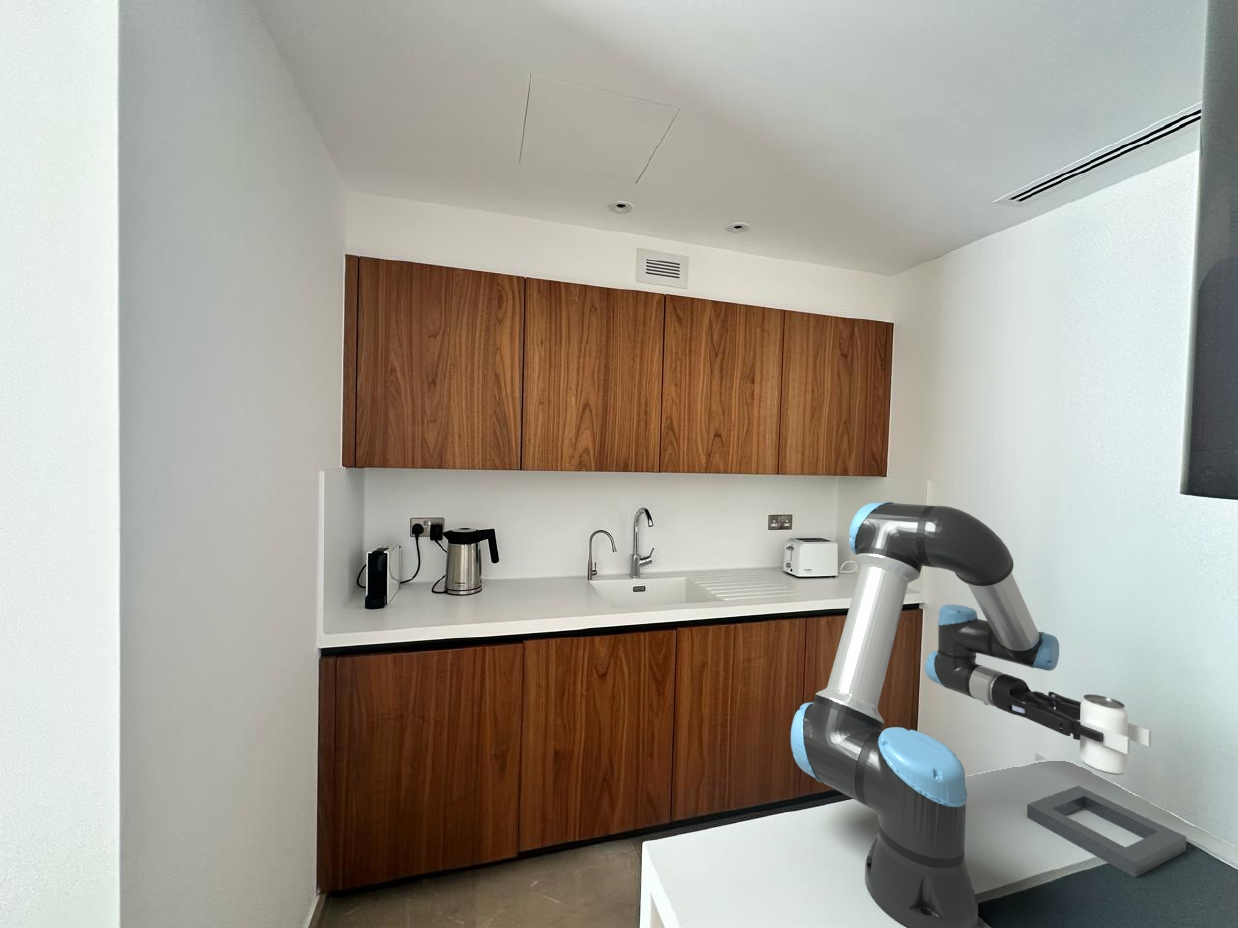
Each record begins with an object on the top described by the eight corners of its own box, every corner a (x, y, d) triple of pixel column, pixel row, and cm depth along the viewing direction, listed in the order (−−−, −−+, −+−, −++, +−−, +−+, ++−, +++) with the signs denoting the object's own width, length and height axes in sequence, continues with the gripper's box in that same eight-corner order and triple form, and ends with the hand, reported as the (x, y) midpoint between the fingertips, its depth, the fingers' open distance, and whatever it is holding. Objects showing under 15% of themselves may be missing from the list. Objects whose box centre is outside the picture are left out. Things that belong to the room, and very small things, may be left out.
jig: (1135, 877, 86) (1135, 862, 86) (1027, 817, 101) (1027, 804, 101) (1185, 850, 93) (1186, 836, 93) (1077, 797, 107) (1077, 785, 107)
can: (1136, 777, 93) (1137, 710, 93) (1094, 772, 94) (1095, 706, 94) (1110, 758, 99) (1111, 695, 100) (1071, 753, 101) (1072, 691, 101)
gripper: (1027, 700, 117) (1166, 752, 96) (970, 714, 110) (1109, 775, 88) (1027, 667, 117) (1167, 711, 96) (971, 679, 110) (1109, 730, 88)
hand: (1139, 742), depth 92 cm, fingers closed on can, 6 cm apart
